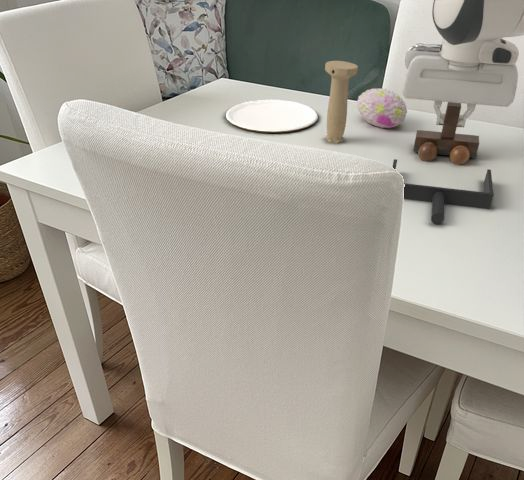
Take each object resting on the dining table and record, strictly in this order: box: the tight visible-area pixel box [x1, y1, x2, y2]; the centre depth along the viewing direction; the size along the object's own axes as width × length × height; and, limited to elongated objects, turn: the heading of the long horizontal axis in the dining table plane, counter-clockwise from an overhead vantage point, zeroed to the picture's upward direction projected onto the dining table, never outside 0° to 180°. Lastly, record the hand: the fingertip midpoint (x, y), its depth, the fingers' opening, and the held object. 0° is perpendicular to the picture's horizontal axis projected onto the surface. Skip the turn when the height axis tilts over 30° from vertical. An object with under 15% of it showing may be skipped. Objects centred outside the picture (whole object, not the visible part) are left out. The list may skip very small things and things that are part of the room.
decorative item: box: [356, 87, 408, 129], centre depth 125 cm, size 9×11×10 cm
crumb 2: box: [449, 146, 470, 166], centre depth 110 cm, size 4×4×4 cm
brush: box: [412, 102, 480, 159], centre depth 111 cm, size 12×4×9 cm, turn 75°
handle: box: [324, 60, 359, 144], centre depth 114 cm, size 5×6×15 cm
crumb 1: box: [417, 142, 438, 162], centre depth 111 cm, size 4×4×4 cm
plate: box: [225, 99, 319, 134], centre depth 129 cm, size 21×21×1 cm
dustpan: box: [392, 158, 495, 225], centre depth 98 cm, size 17×19×3 cm
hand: (450, 125), depth 110 cm, fingers closed on brush, 2 cm apart
